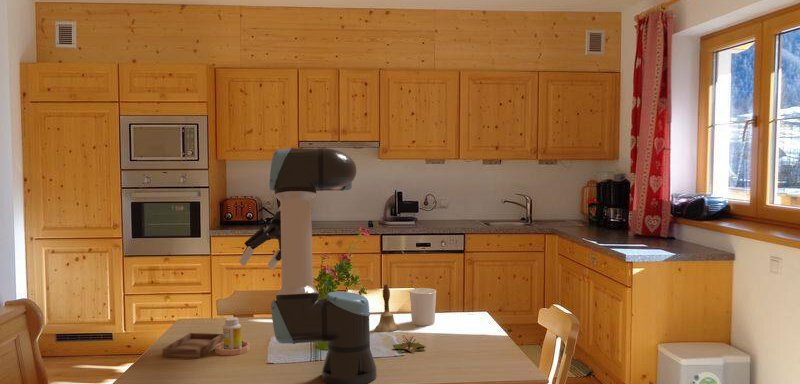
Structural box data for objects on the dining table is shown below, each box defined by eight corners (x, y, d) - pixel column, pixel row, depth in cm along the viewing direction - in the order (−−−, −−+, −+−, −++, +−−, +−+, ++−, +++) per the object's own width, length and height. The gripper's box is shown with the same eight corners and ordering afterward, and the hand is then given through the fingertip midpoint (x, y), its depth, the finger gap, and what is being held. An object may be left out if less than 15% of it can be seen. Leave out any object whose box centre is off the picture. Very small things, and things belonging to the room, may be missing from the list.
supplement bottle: (243, 347, 203) (242, 316, 202) (240, 352, 197) (239, 320, 196) (225, 347, 202) (224, 316, 201) (222, 353, 196) (221, 321, 196)
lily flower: (432, 353, 194) (432, 339, 194) (394, 357, 192) (394, 342, 192) (422, 342, 206) (422, 329, 206) (387, 345, 204) (386, 331, 203)
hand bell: (397, 332, 218) (397, 286, 217) (374, 331, 219) (373, 286, 218) (399, 325, 226) (398, 282, 225) (376, 325, 227) (375, 282, 226)
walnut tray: (199, 358, 192) (198, 350, 192) (162, 356, 193) (162, 348, 193) (224, 341, 209) (223, 333, 209) (190, 340, 211) (190, 332, 211)
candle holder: (405, 321, 232) (405, 289, 231) (428, 318, 236) (428, 286, 235) (417, 327, 223) (416, 294, 222) (441, 324, 227) (441, 291, 226)
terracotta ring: (242, 355, 193) (241, 350, 193) (209, 354, 195) (209, 349, 195) (255, 345, 204) (255, 340, 204) (224, 344, 206) (223, 339, 206)
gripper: (318, 225, 215) (288, 275, 203) (266, 221, 228) (236, 268, 217) (307, 211, 210) (276, 262, 198) (255, 208, 224) (223, 255, 212)
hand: (255, 265), depth 207 cm, fingers open, 13 cm apart
